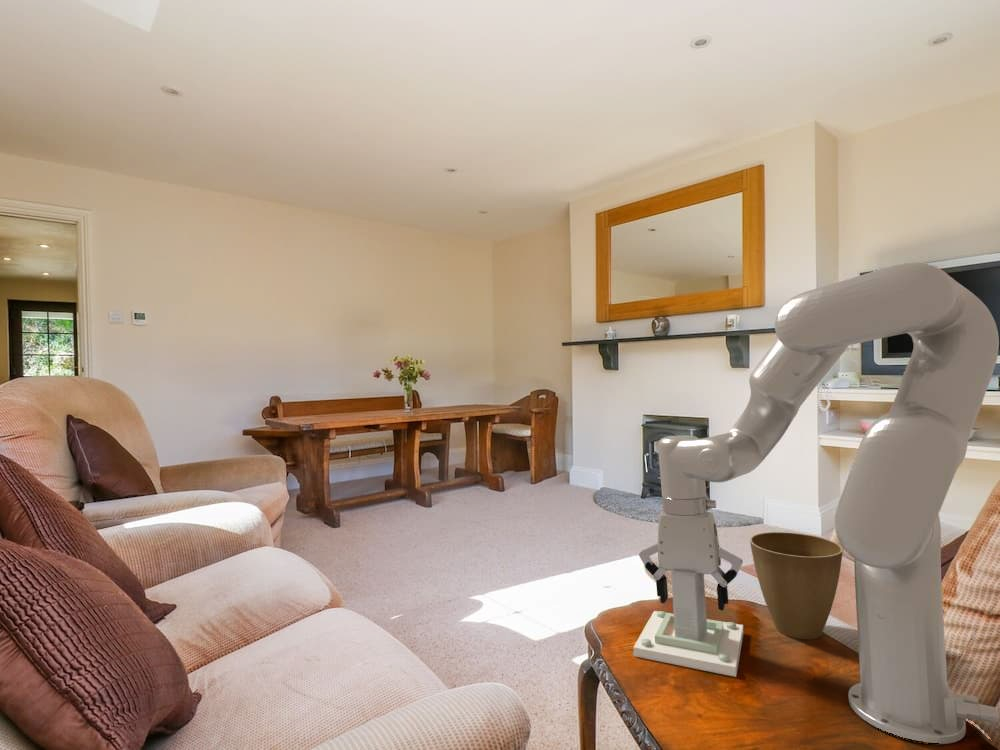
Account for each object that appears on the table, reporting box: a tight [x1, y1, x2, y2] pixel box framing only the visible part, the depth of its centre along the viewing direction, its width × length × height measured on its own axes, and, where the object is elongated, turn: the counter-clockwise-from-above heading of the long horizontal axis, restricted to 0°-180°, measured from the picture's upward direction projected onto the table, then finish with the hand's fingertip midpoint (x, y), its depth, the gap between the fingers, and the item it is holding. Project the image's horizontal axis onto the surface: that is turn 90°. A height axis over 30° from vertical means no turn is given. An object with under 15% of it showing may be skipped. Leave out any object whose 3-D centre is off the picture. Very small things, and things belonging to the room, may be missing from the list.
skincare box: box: [670, 570, 708, 641], centre depth 94 cm, size 6×4×12 cm
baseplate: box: [632, 610, 744, 678], centre depth 94 cm, size 16×16×3 cm
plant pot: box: [749, 531, 844, 640], centre depth 97 cm, size 15×15×16 cm
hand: (692, 603), depth 93 cm, fingers open, 9 cm apart
